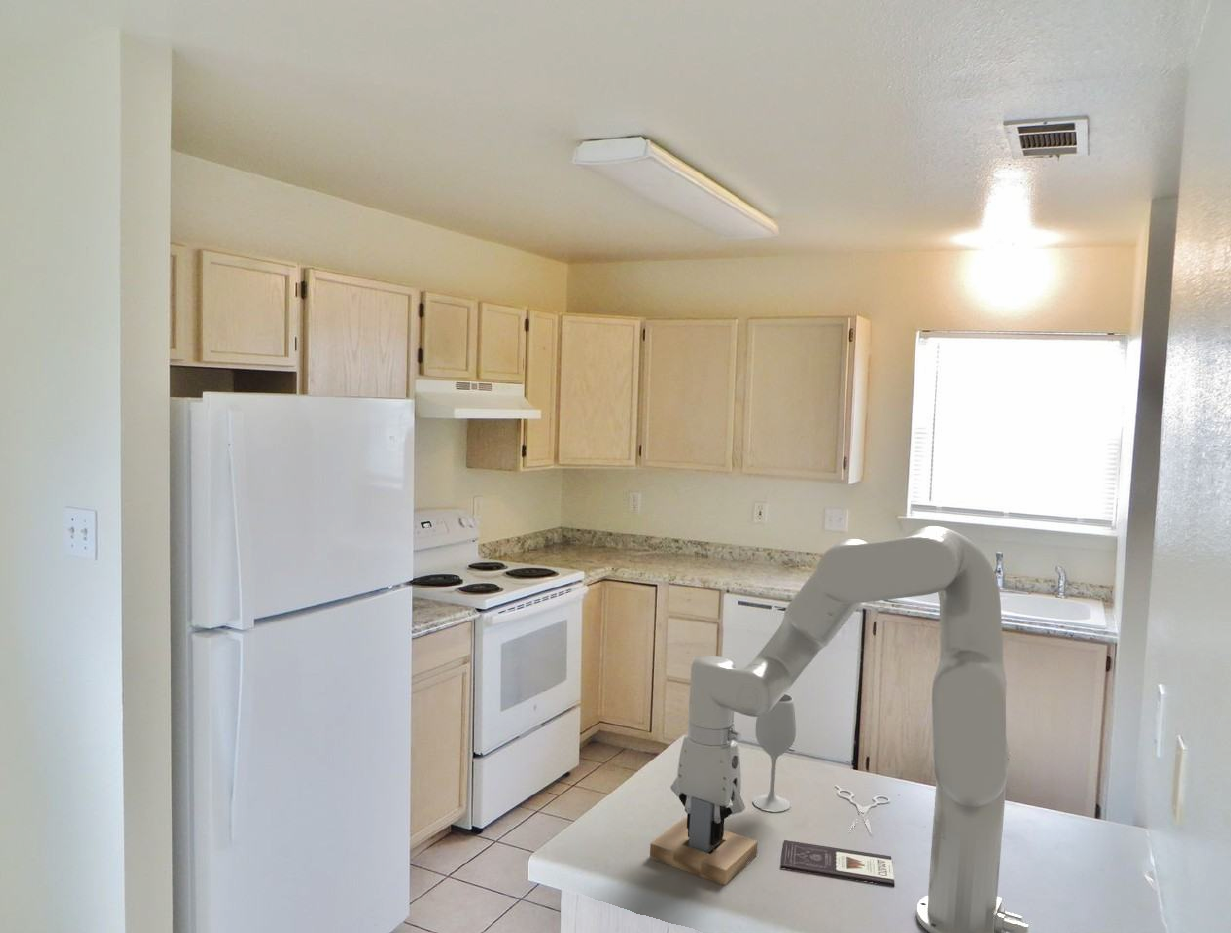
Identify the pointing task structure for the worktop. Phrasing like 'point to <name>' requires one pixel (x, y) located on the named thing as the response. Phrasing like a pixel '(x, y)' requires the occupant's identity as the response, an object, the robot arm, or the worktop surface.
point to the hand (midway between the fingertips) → (704, 837)
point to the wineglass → (776, 745)
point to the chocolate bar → (837, 862)
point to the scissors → (860, 808)
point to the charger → (701, 825)
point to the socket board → (712, 866)
